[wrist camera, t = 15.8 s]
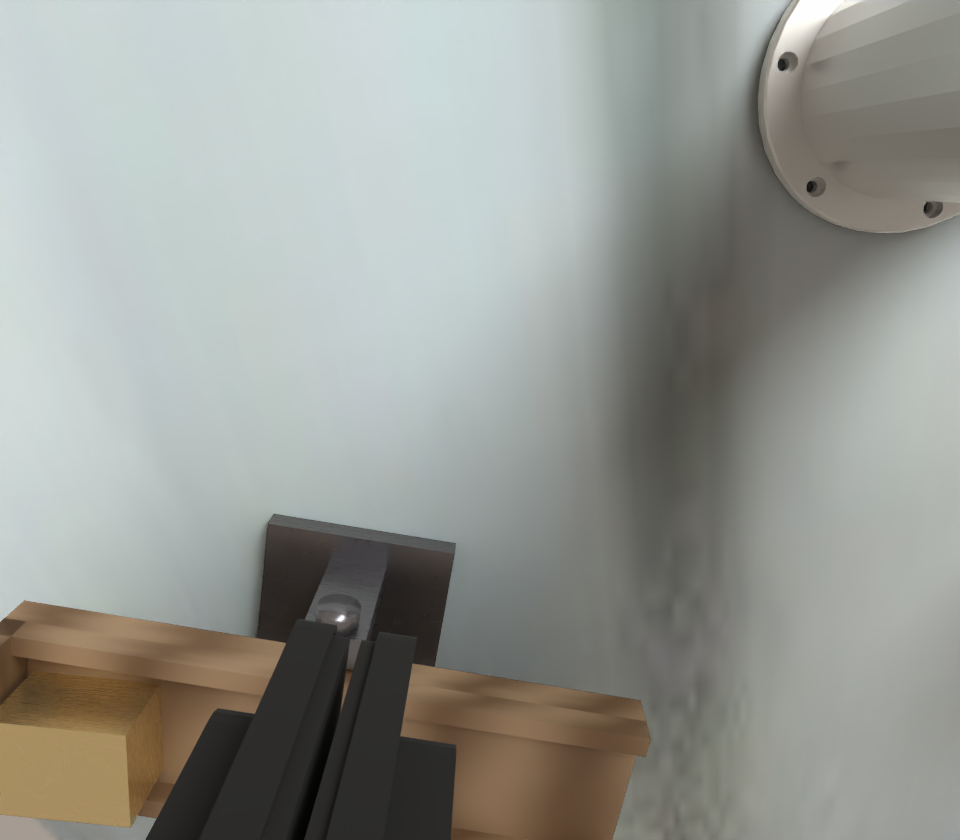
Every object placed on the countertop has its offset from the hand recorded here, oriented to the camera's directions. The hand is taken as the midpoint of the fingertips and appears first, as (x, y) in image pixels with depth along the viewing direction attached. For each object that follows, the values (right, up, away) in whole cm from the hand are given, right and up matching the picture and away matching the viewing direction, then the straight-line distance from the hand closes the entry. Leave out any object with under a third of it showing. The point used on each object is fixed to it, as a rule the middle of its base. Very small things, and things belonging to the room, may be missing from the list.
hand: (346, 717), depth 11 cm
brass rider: (-16, -10, +26) cm, 33 cm away
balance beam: (-6, -11, +27) cm, 30 cm away
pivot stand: (-6, -9, +34) cm, 35 cm away
